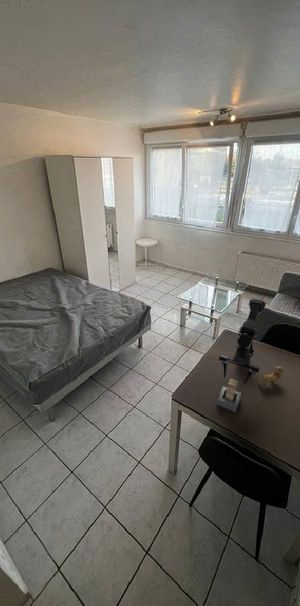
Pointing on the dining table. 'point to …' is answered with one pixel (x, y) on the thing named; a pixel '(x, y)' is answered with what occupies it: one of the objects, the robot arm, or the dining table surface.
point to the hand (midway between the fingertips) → (233, 381)
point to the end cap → (226, 403)
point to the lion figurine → (272, 376)
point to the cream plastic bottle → (231, 390)
